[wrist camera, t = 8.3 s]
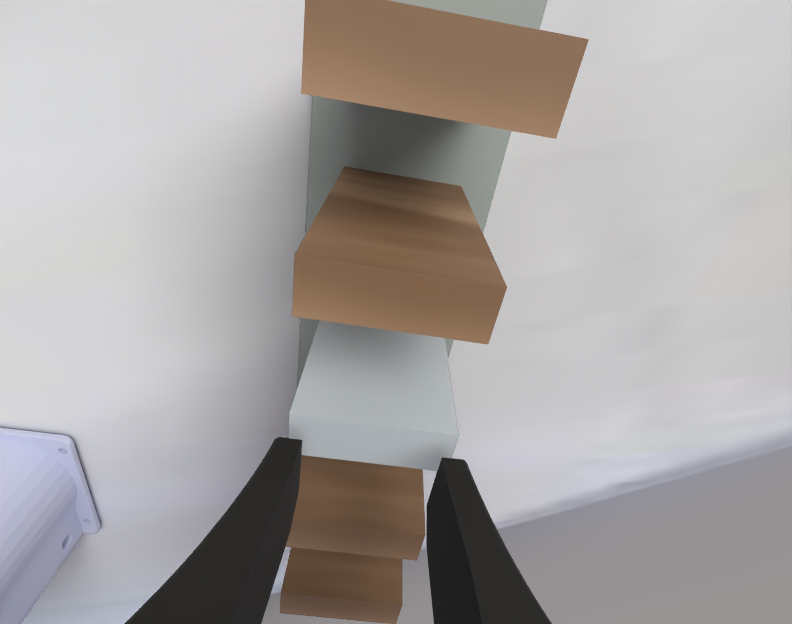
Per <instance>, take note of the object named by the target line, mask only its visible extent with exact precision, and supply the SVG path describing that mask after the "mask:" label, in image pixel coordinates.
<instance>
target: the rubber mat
mask: <svg viewBox="0 0 792 624" xmlns="http://www.w3.org/2000/svg"><path fill="white" fill-rule="evenodd" d="M389 1H394V2H399V3H404V4H409V5H415V6H420V7H425V8H430V9H435V10H440V11H445V12H451V13H456V14H461V15H466V16H471V17H476V18H481V19H486V20H492V21H497V22H502V23H507V24H512V25H517V26H522V27H527V28H533V29H538V30H539V29H540V25H541V22H542V18H543V15H544V11H545V7H546V4H547V0H389ZM510 134H511V131H510V130H505V129H499V128H493V127H488V126H482V125H476V124H471V123H465V122H460V121H454V120H448V119H443V118H437V117H431V116H426V115H420V114H415V113H409V112H403V111H398V110H392V109H386V108H381V107H375V106H370V105H364V104H358V103H353V102H347V101H341V100H336V99H330V98H325V97H319V96H313V99H312V118H311V137H310V156H309V174H308V193H307V212H306V230H305V236H306V234H307V232H308V230H309V228H310V227H311V225H312V223H313V221H314V219H315V218H316V216H317V214H318V212H319V211H320V209H321V207H322V205H323V203H324V202H325V200H326V198H327V196H328V194H329V193H330V191H331V189H332V187H333V185H334V184H335V182H336V180H337V178H338V176H339V175H340V173H341V171H342V169H343V168H344V166H345V167H351V168H357V169H363V170H369V171H375V172H381V173H387V174H393V175H399V176H405V177H411V178H417V179H423V180H429V181H435V182H441V183H447V184H453V185H459V186H461V187H462V189H463V191H464V193H465V195H466V198H467V200H468V202H469V204H470V207H471V209H472V211H473V213H474V215H475V218H476V220H477V222H478V224H479V226H480V229H481V231H482V233H483V231H484V228H485V224H486V220H487V217H488V213H489V210H490V206H491V202H492V199H493V195H494V191H495V188H496V184H497V181H498V177H499V173H500V170H501V166H502V163H503V159H504V155H505V152H506V148H507V145H508V141H509V137H510ZM318 323H319V320H314V319H307V318H301V324H300V343H299V361H298V380H297V388H298V385H299V382H300V379H301V376H302V373H303V370H304V367H305V363H306V360H307V357H308V354H309V351H310V348H311V345H312V342H313V339H314V336H315V333H316V329H317V326H318ZM445 342H446V349H447V355H448V357H449V354H450V350H451V347H452V343H453V339H447V338H445Z"/></svg>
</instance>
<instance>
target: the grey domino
mask: <svg viewBox="0 0 792 624" xmlns="http://www.w3.org/2000/svg"><path fill="white" fill-rule="evenodd" d="M458 437H459V430H458V423H457V417H456V410H455V403H454V396H453V389H452V383H451V376H450V369H449V362H448V355H447V349H446V342H445V338H440V337H433V336H426V335H419V334H412V333H405V332H398V331H391V330H384V329H377V328H370V327H363V326H356V325H349V324H342V323H335V322H328V321H321V320H319V323H318V326H317V329H316V333H315V336H314V339H313V342H312V345H311V348H310V351H309V354H308V357H307V360H306V363H305V367H304V370H303V373H302V376H301V379H300V382H299V385H298V388H297V391H296V394H295V397H294V401H293V404H292V407H291V410H290V413H289V432H288V438H291V439H299V440H302V453H301V455H306V456H314V457H323V458H331V459H340V460H348V461H357V462H365V463H374V464H382V465H391V466H399V467H408V468H416V469H424V470H433V471H438V468H439V465H440V461H441V458H442V457H444V458H452V456H453V453H454V449H455V446H456V443H457V440H458Z"/></svg>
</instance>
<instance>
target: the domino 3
mask: <svg viewBox="0 0 792 624" xmlns="http://www.w3.org/2000/svg"><path fill="white" fill-rule="evenodd" d="M424 537H425V514H424V492H423V470H422V469H416V468H408V467H399V466H391V465H382V464H374V463H365V462H357V461H348V460H340V459H331V458H323V457H314V456H306V455H301V468H300V483H299V493H298V497H297V502H296V507H295V511H294V516H293V521H292V525H291V530H290V533H289V536H288V540H287V543H286V547H296V548H305V549H314V550H324V551H333V552H342V553H352V554H361V555H371V556H380V557H389V558H399V559H409V560H417V558H418V555H419V552H420V549H421V546H422V543H423V540H424Z"/></svg>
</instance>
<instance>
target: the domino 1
mask: <svg viewBox="0 0 792 624" xmlns="http://www.w3.org/2000/svg"><path fill="white" fill-rule="evenodd" d="M588 40H589V39H584V38H579V37H574V36H569V35H563V34H558V33H553V32H548V31H543V30H538V29H533V28H527V27H522V26H517V25H512V24H507V23H502V22H497V21H492V20H486V19H481V18H476V17H471V16H466V15H461V14H456V13H451V12H445V11H440V10H435V9H430V8H425V7H420V6H415V5H409V4H404V3H399V2H394V1H389V0H305V17H304V41H303V65H302V90H301V93H302V94H308V95H313V96H319V97H325V98H330V99H336V100H341V101H347V102H353V103H358V104H364V105H370V106H375V107H381V108H386V109H392V110H398V111H403V112H409V113H415V114H420V115H426V116H431V117H437V118H443V119H448V120H454V121H460V122H465V123H471V124H476V125H482V126H488V127H493V128H499V129H505V130H510V131H516V132H522V133H527V134H533V135H538V136H544V137H550V138H555V139H556V137H557V134H558V131H559V128H560V125H561V122H562V119H563V116H564V113H565V110H566V107H567V104H568V101H569V97H570V94H571V91H572V88H573V85H574V82H575V79H576V76H577V73H578V70H579V67H580V64H581V61H582V58H583V55H584V52H585V49H586V46H587V43H588Z"/></svg>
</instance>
